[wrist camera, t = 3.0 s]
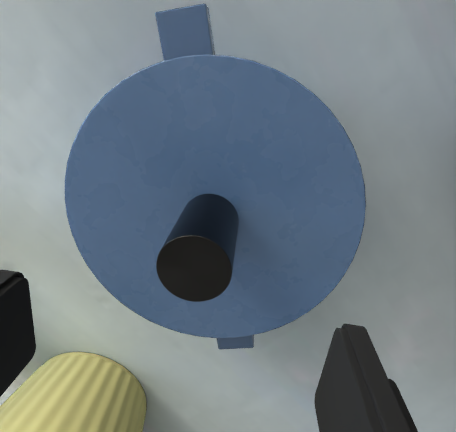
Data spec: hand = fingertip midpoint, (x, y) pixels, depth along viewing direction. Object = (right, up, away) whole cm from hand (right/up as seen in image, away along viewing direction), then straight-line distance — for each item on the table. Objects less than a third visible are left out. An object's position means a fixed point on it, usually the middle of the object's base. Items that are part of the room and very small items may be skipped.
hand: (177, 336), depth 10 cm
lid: (+1, +4, +8) cm, 9 cm away
